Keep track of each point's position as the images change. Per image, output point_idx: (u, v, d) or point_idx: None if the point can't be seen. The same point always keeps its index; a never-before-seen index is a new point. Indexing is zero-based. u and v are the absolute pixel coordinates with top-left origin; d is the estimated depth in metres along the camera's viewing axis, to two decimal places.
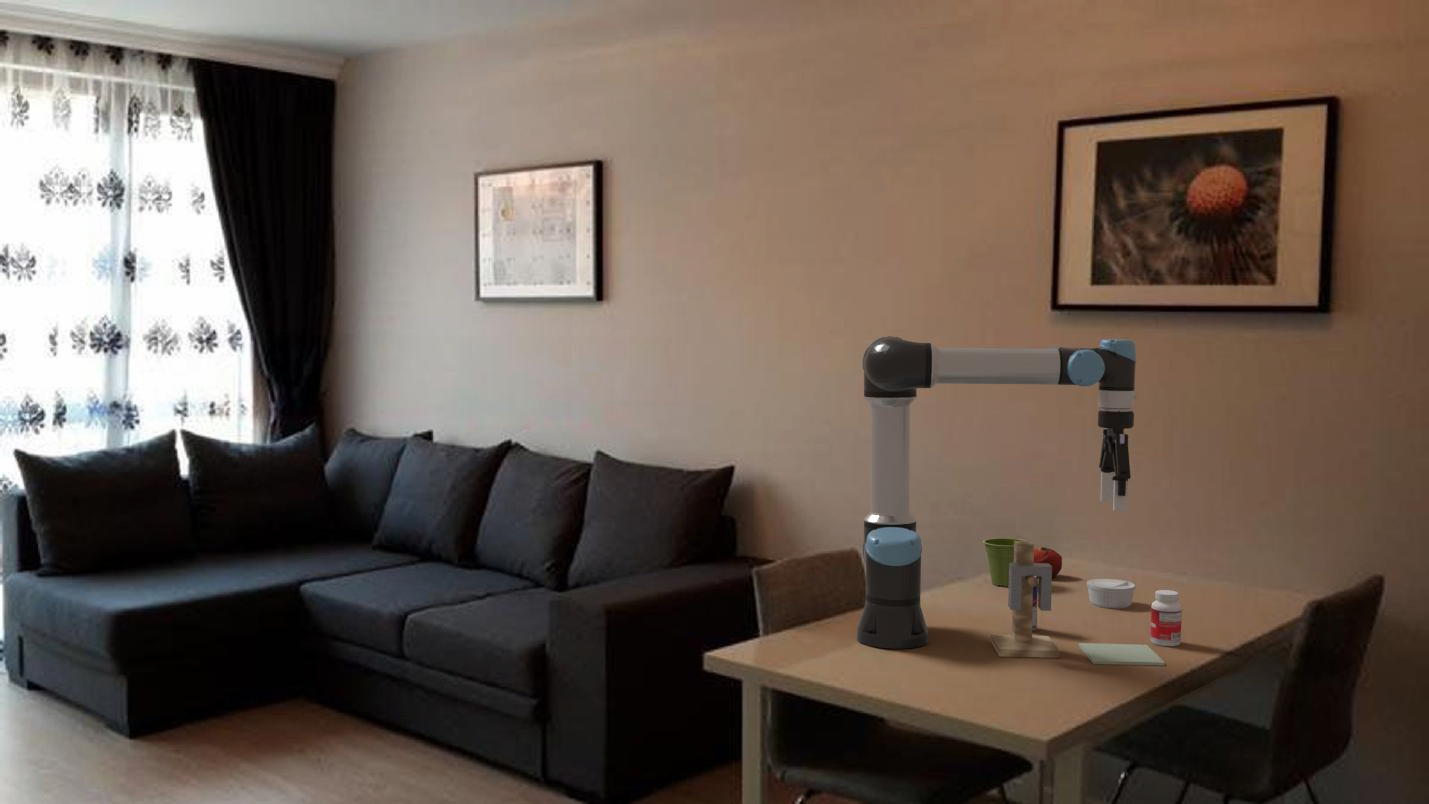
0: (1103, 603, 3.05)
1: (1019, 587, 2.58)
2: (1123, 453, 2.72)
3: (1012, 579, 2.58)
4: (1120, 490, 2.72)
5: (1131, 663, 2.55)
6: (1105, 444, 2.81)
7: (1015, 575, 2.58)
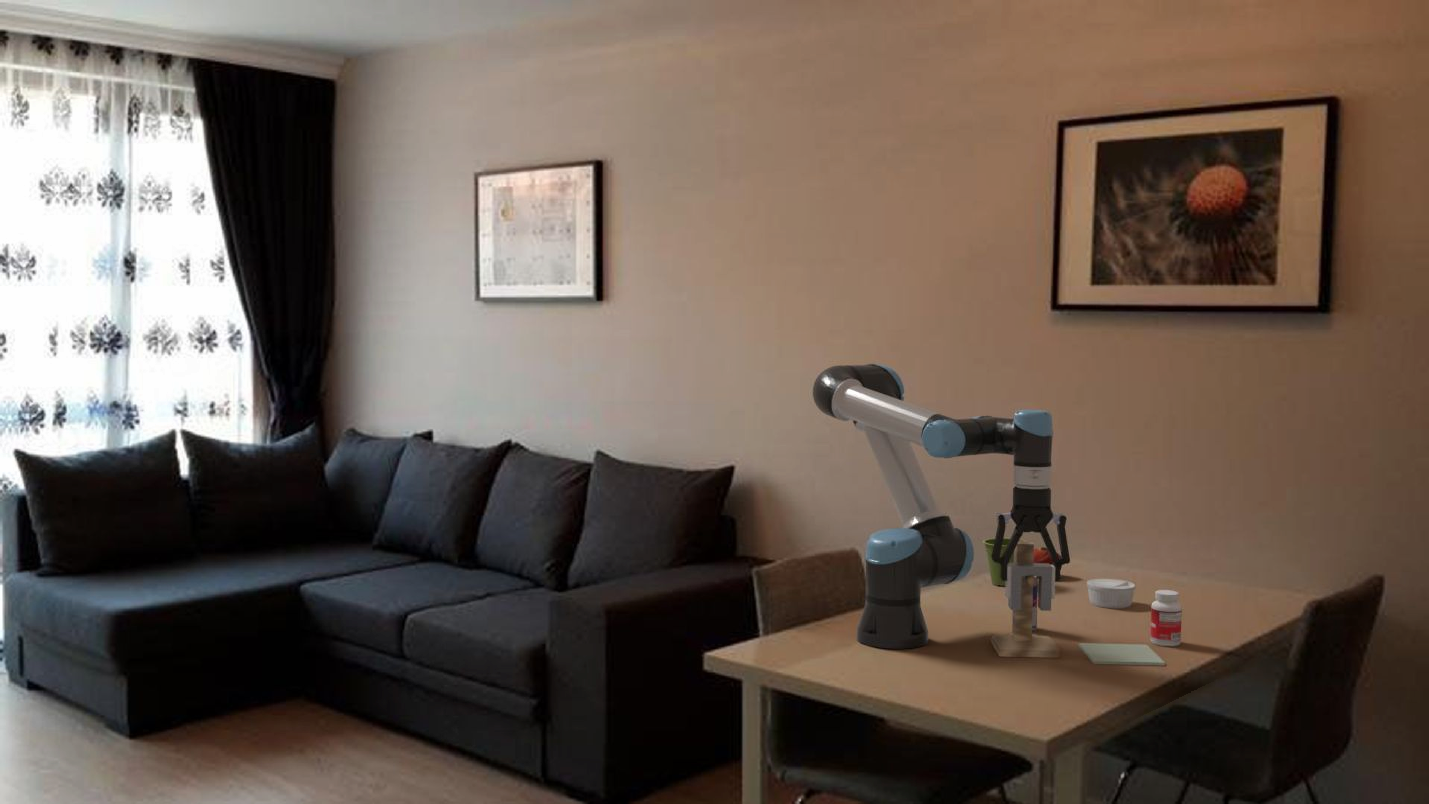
0: (1103, 603, 3.05)
1: (1019, 587, 2.58)
2: (997, 534, 2.59)
3: (1012, 579, 2.58)
4: (1000, 574, 2.60)
5: (1131, 663, 2.55)
6: None
7: (1015, 575, 2.58)
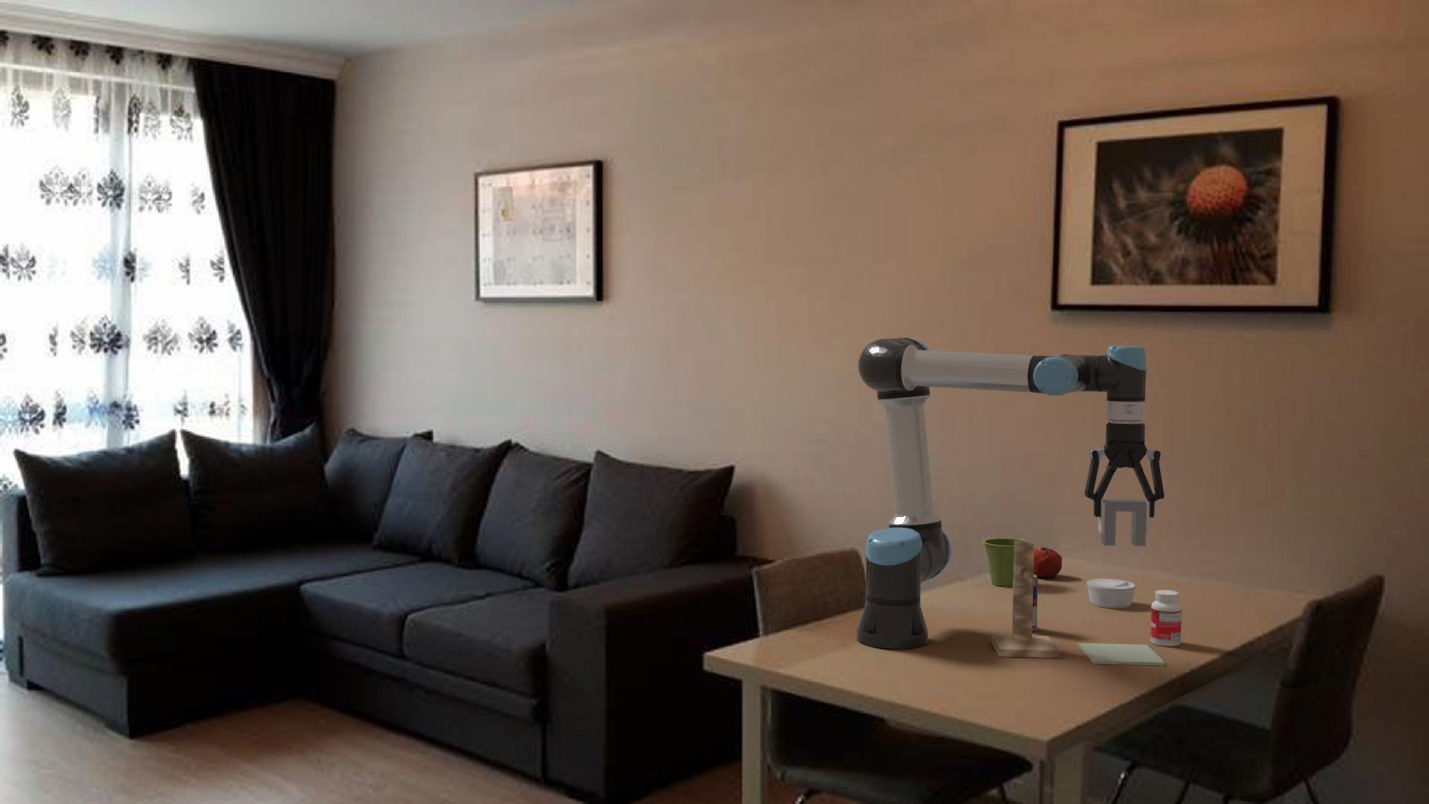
0: (1103, 603, 3.05)
1: (1113, 522, 2.58)
2: (1090, 470, 2.59)
3: (1106, 514, 2.58)
4: (1094, 510, 2.60)
5: (1131, 663, 2.55)
6: None
7: (1109, 510, 2.58)
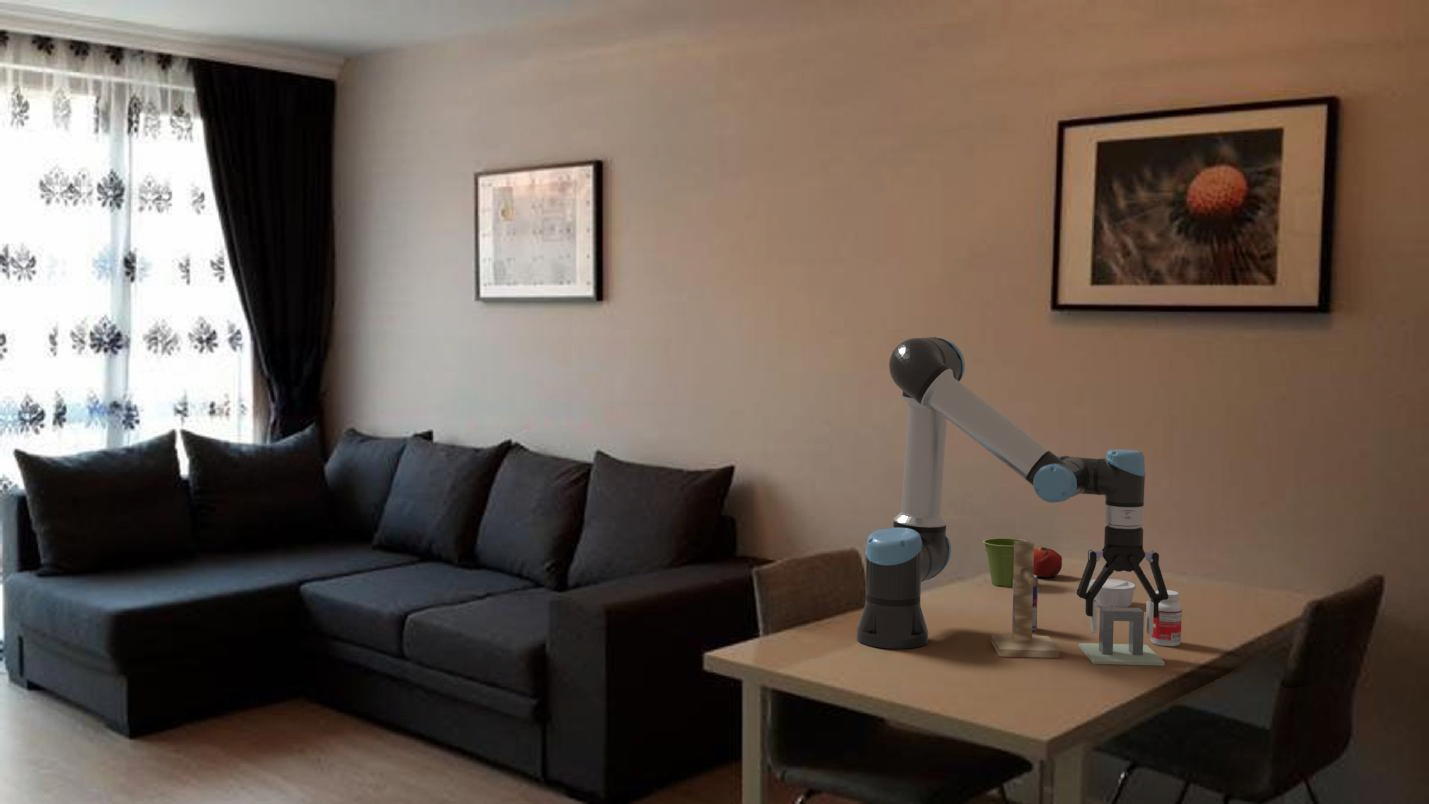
0: (1103, 603, 3.05)
1: (1111, 632, 2.60)
2: (1086, 570, 2.61)
3: (1104, 624, 2.60)
4: None
5: (1131, 663, 2.55)
6: None
7: (1107, 620, 2.59)
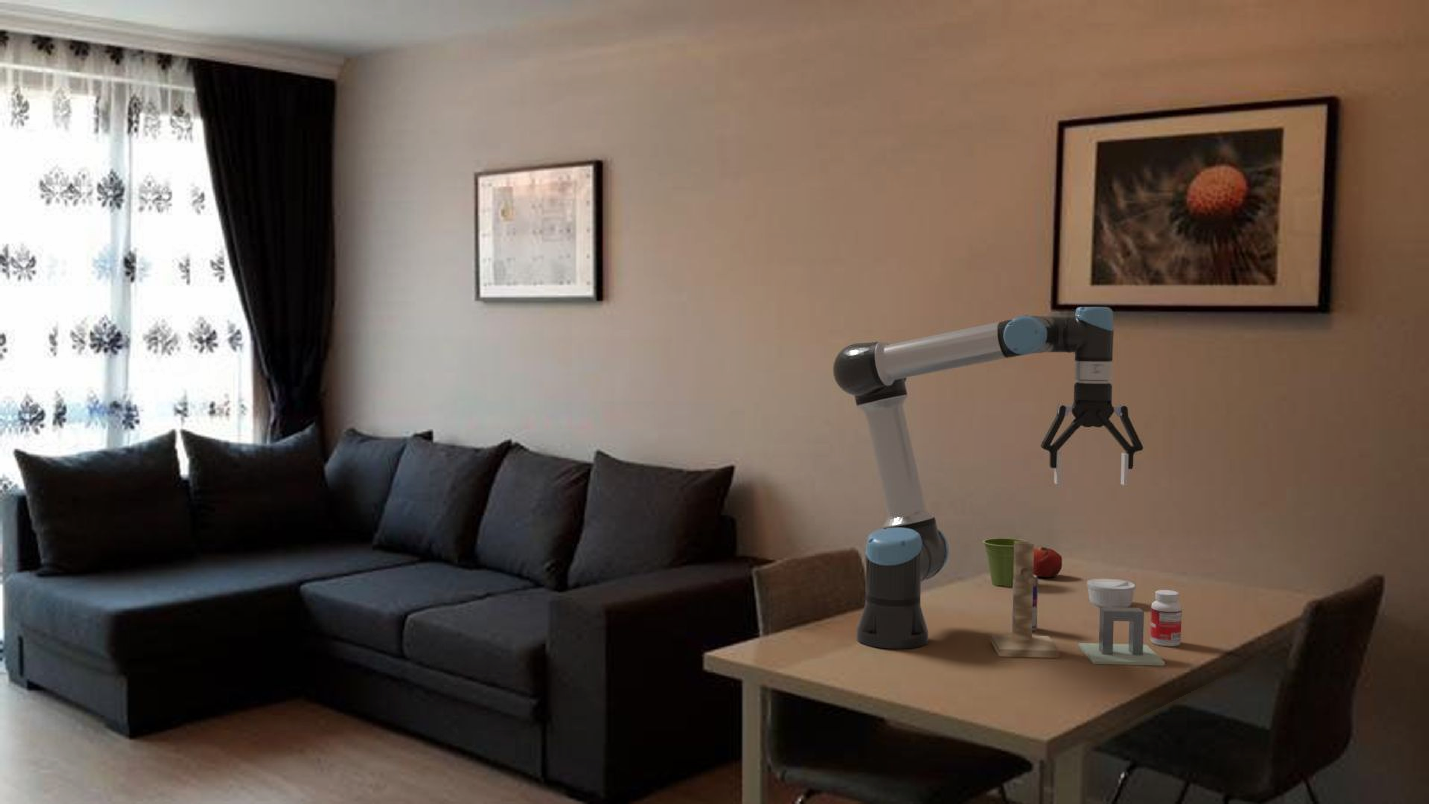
0: (1103, 603, 3.05)
1: (1111, 632, 2.60)
2: (1053, 423, 2.63)
3: (1104, 624, 2.60)
4: None
5: (1131, 663, 2.55)
6: None
7: (1107, 620, 2.59)
